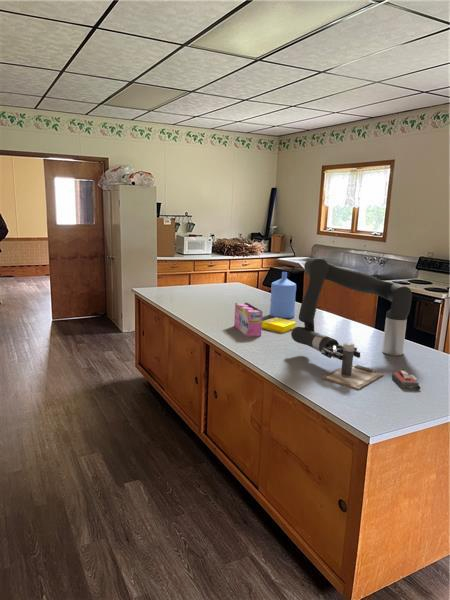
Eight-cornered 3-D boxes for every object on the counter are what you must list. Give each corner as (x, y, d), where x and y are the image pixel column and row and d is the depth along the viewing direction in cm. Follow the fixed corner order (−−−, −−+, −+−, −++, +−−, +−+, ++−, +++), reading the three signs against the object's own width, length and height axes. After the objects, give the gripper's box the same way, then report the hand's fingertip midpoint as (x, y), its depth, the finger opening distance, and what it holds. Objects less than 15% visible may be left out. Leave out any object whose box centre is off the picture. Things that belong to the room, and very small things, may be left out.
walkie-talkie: (425, 392, 165) (405, 373, 185) (427, 381, 165) (406, 363, 184) (402, 391, 166) (384, 372, 185) (403, 380, 165) (385, 362, 184)
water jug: (293, 319, 269) (296, 274, 263) (268, 317, 272) (270, 273, 266) (294, 314, 284) (297, 271, 278) (270, 312, 287) (273, 269, 281)
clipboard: (347, 365, 191) (348, 361, 190) (383, 375, 180) (383, 371, 180) (321, 378, 175) (321, 374, 175) (358, 390, 164) (359, 386, 164)
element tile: (282, 334, 238) (283, 325, 237) (260, 328, 247) (260, 320, 246) (296, 329, 249) (297, 320, 248) (274, 324, 259) (275, 316, 258)
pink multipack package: (232, 325, 251) (233, 302, 248) (245, 324, 253) (246, 302, 251) (247, 337, 229) (249, 312, 226) (261, 336, 231) (263, 311, 228)
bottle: (343, 373, 179) (346, 341, 176) (353, 376, 176) (356, 344, 173) (338, 376, 176) (341, 343, 173) (348, 378, 173) (351, 346, 170)
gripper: (312, 338, 183) (338, 349, 169) (339, 334, 189) (365, 345, 175) (311, 355, 185) (336, 367, 171) (337, 351, 191) (364, 363, 177)
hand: (351, 356), depth 173 cm, fingers open, 8 cm apart
